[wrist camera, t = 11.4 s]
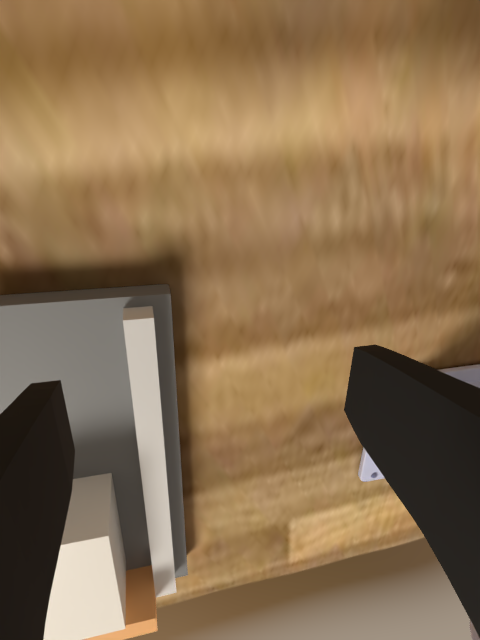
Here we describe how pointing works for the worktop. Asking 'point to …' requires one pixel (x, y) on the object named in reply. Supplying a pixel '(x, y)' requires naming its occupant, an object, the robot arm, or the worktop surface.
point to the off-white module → (89, 566)
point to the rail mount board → (112, 415)
